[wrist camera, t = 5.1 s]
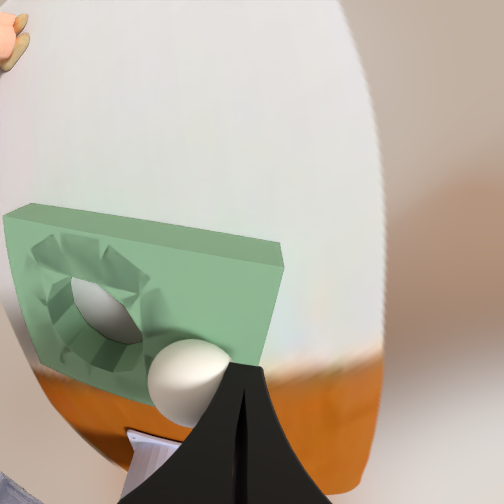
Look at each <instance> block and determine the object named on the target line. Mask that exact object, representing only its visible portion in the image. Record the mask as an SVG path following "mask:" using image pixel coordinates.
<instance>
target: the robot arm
mask: <svg viewBox="0 0 504 504" xmlns="http://www.w3.org/2000/svg"><path fill="white" fill-rule="evenodd" d="M127 435H128V438H129V440H130V443H131V445H132V447H133V450H134V455H133V458H132V461H131V464H130V467H129V470H128V474H127V477H126V480H125V484H124V487H123V490H122V494H121V497H120V500H119V502H118V503H117V504H332V503H331V502H330V501H329V499H328V498H327V497H326V496H325V495H324V494H323V493H322V492H321V490H320V489H319V488H318V486H317V485H316V484H315V483H314V481H313V480H312V479H311V477H310V476H309V475H308V473H307V472H306V470H305V469H304V467H303V466H302V464H301V463H300V461H299V460H298V458H297V456H296V454H295V453H294V451H293V449H292V447H291V446H290V444H289V442H288V440H287V438H286V436H285V434H284V431H283V429H282V427H281V425H280V423H279V420H278V418H277V415H276V412H275V410H274V407H273V405H272V402H271V399H270V395H269V392H268V389H267V385H266V381H265V377H264V372H263V368H262V367H260V366H253V365H246V364H239V363H233V362H229V365H228V367H227V369H226V371H225V372H224V375H223V378H222V380H221V382H220V385H219V387H218V389H217V391H216V393H215V395H214V397H213V398H212V400H211V402H210V404H209V406H208V407H207V409H206V411H205V412H204V414H203V415H202V417H201V418H200V420H199V421H198V423H197V424H196V426H195V427H194V429H193V430H192V431H191V433H190V434H189V435H188V436H187V438H186V439H185V440H184V441H183V443H179V442H174V441H170V440H166V439H162V438H158V437H154V436H151V435H147V434H144V433H140V432H137V431H134V430H128V431H127ZM232 475H233V477H232ZM0 504H44V503H42V502H41V501H39V500H38V499H36V498H35V497H33V496H32V495H30V494H29V493H27V492H26V490H25V489H24V488H22V487H21V486H20V485H18V484H17V483H15V482H14V481H13V480H12V479H10V478H9V477H8V476H6V475H5V474H4V473H2V472H1V471H0Z"/></svg>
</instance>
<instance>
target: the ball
mask: <svg viewBox="0 0 504 504" xmlns="http://www.w3.org/2000/svg"><path fill="white" fill-rule="evenodd" d="M229 362H233V360H232V359H231V357H230V356H229V355H228V354H227V353H226V352H225V351H223V350H222V349H221V348H219V347H218V346H216V345H214V344H212V343H209V342H207V341H203V340H198V339H186V340H180V341H177V342H174V343H172V344H170V345H168V346H166V347H165V348H164V349H162V350H161V351H160V352H159V353H158V354H157V356H156V357H155V359H154V360H153V362H152V364H151V366H150V369H149V373H148V390H149V394H150V397H151V399H152V401H153V403H154V405H155V406H156V408H157V409H158V410H159V411H160V413H161V414H162V415H164V416H165V417H166V418H167V419H169V420H170V421H172V422H174V423H176V424H178V425H181V426H184V427H189V428H194V427H195V426H196V424H197V423H198V421H199V420H200V418H201V417H202V415H203V414H204V412H205V411H206V409H207V407H208V406H209V404H210V402H211V400H212V398H213V397H214V395H215V393H216V391H217V389H218V387H219V385H220V382H221V380H222V378H223V375H224V372H225V371H226V369H227V367H228V365H229ZM233 363H234V362H233Z"/></svg>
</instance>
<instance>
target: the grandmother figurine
mask: <svg viewBox="0 0 504 504" xmlns="http://www.w3.org/2000/svg"><path fill="white" fill-rule="evenodd" d="M27 18H28V15H27V14H22V15H19V16H18V17H16V18H15V15H14V14H9V13H3V12H0V67H1V68H2V69H3V70H4V71H9V70H10V69H11V68H12V67H13V66H14V65H15V63H16V62H17V60H18V59H19V58H20V56H21V55H22V54H23V52H24V51H25V50H26V48H27V46H28V44H29V40H30V38H29V34H28V33H23V34H21V35H19V36H18V37H17V38H16V35H18V34H19V33H20V32H21V31H22V29H23V28H24V26H25V25H26V22H27Z"/></svg>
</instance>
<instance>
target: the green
mask: <svg viewBox="0 0 504 504" xmlns="http://www.w3.org/2000/svg"><path fill="white" fill-rule="evenodd" d="M3 225H4V233H5V240H6V246H7V252H8V258H9V263H10V268H11V273H12V277H13V281H14V286H15V290H16V293H17V297H18V301H19V304H20V308H21V311H22V314H23V317H24V320H25V323H26V326H27V329H28V332H29V335H30V337H31V340H32V343H33V345H34V348H35V350H36V353H37V355H38V358H39V360H40V362H41V363H42V364H44V365H46V366H48V367H50V368H52V369H54V370H56V371H58V372H60V373H62V374H64V375H67V376H69V377H71V378H73V379H76V380H78V381H81V382H83V383H85V384H88V385H90V386H93V387H96V388H98V389H101V390H104V391H106V392H109V393H112V394H115V395H118V396H121V397H124V398H127V399H130V400H133V401H137V402H140V403H143V404H147V405H151V406H154V407H156V406H155V405H154V403H153V401H152V399H151V397H150V394H149V390H148V373H149V369H150V366H151V364H152V362H153V360H154V359H155V357H156V356H157V354H158V353H159V352H160V351H161V350H162V349H164V348H165V347H166V346H168V345H170V344H172V343H174V342H177V341H180V340H186V339H198V340H203V341H207V342H209V343H212V344H214V345H216V346H218V347H219V348H221V349H222V350H223V351H225V352H226V353H227V354H228V355H229V356H230V357H231V359H232V360H233V362H234V363H239V364H246V365H253V366H258V364H259V361H260V357H261V354H262V350H263V347H264V343H265V340H266V336H267V332H268V329H269V325H270V321H271V317H272V314H273V310H274V306H275V302H276V298H277V294H278V291H279V287H280V283H281V279H282V275H283V271H284V263H283V258H282V252H281V247H280V243H277V242H272V241H266V240H260V239H255V238H249V237H243V236H237V235H232V234H226V233H220V232H214V231H208V230H202V229H196V228H190V227H184V226H178V225H172V224H166V223H160V222H153V221H147V220H141V219H135V218H128V217H122V216H115V215H109V214H102V213H96V212H89V211H82V210H75V209H69V208H62V207H55V206H48V205H41V204H34V203H31V204H28V205H26V206H24V207H21V208H19V209H17V210H14V211H12V212H10V213H8V214H5V215H3ZM72 277H75V278H78V279H82V280H86V281H89V282H93V283H97V284H98V285H99V286H100V287H101V288H103V289H104V290H105V291H106V292H108V293H109V294H110V295H111V296H113V297H114V298H115V299H116V300H118V301H119V302H120V303H122V304H123V305H124V306H125V308H126V309H127V311H128V313H129V314H130V316H131V317H132V319H133V321H134V322H135V324H136V325H137V327H138V328H139V330H140V331H141V333H142V341H143V342H141V343H136V344H130V345H126V344H123V343H119V342H116V341H113V340H109V339H106V338H105V337H104V336H102V335H101V334H100V333H98V332H97V331H96V330H95V329H93V328H92V327H91V326H89V325H88V324H87V323H86V321H85V320H84V318H83V317H82V315H81V313H80V312H79V310H78V309H77V307H76V305H75V304H74V300H73V295H72V289H71V283H70V281H71V278H72Z"/></svg>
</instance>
